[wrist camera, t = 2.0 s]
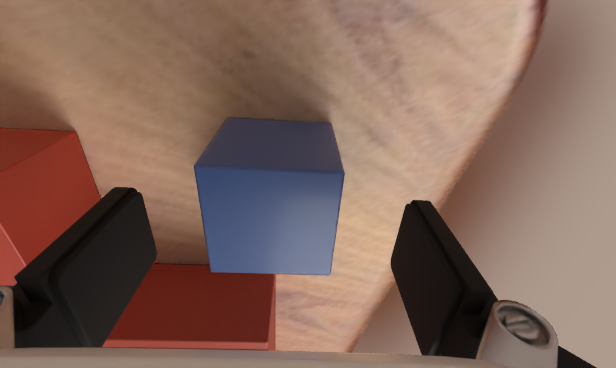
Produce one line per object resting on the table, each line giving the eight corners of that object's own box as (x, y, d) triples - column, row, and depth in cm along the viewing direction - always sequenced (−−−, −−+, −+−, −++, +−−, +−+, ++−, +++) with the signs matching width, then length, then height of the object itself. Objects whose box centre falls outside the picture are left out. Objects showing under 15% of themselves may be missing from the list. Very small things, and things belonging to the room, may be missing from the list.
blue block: (226, 116, 12) (192, 165, 8) (332, 122, 12) (345, 172, 9) (234, 203, 15) (209, 273, 11) (323, 207, 15) (330, 276, 11)
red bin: (104, 261, 16) (44, 338, 13) (275, 266, 17) (267, 342, 13) (147, 363, 22) (114, 438, 18) (275, 364, 22) (269, 438, 19)
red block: (-34, 125, 12) (-187, 178, 8) (76, 131, 12) (-25, 185, 9) (15, 211, 15) (-89, 283, 11) (107, 214, 15) (38, 286, 11)
